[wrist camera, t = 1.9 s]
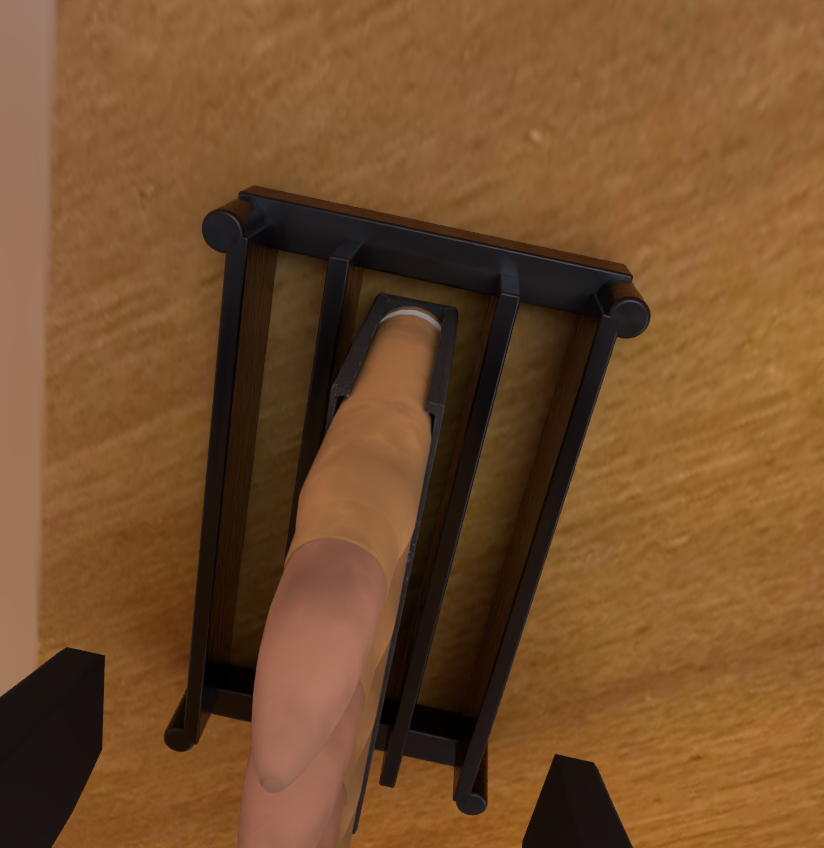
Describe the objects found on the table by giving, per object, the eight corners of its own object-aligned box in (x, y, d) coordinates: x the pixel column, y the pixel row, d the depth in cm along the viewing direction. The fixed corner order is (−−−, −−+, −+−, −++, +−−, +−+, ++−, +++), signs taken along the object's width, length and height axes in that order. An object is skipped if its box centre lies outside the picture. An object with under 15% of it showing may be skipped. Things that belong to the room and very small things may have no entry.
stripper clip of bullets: (376, 290, 17) (165, 678, 6) (460, 306, 17) (400, 726, 6) (318, 664, 21) (136, 1276, 10) (384, 677, 21) (270, 1305, 10)
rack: (195, 682, 22) (161, 752, 20) (243, 182, 16) (202, 200, 14) (483, 745, 22) (482, 822, 20) (635, 266, 16) (659, 296, 14)
